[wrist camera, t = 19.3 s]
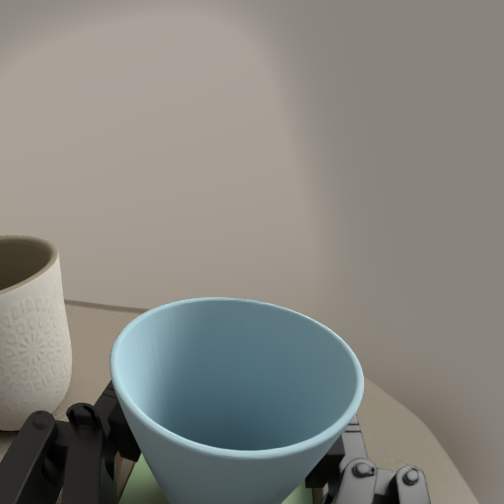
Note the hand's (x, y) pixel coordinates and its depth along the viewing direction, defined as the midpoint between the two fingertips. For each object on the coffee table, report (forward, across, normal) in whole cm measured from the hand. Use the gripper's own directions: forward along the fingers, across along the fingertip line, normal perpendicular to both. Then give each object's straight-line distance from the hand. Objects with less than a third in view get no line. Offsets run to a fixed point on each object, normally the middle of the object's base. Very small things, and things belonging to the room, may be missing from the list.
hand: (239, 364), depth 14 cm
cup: (-5, 0, -6) cm, 8 cm away
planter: (-2, -17, -7) cm, 19 cm away
